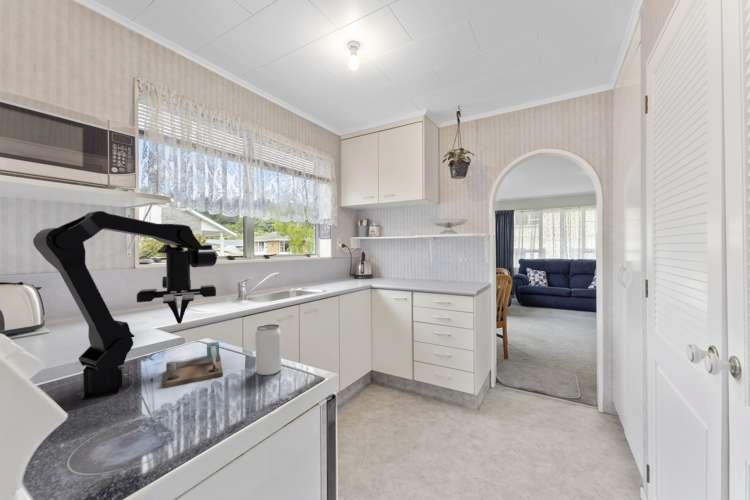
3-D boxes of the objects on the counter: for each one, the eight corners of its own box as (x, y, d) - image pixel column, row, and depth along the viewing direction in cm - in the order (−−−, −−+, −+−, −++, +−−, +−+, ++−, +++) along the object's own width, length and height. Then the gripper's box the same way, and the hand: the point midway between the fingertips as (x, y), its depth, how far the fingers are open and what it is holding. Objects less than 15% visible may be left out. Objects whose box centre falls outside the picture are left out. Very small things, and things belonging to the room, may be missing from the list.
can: (256, 368, 86) (256, 325, 86) (281, 365, 88) (280, 323, 88) (255, 377, 80) (254, 331, 80) (281, 374, 82) (280, 328, 82)
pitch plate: (162, 387, 75) (162, 369, 75) (167, 370, 86) (166, 354, 85) (222, 376, 81) (222, 358, 81) (220, 361, 92) (219, 346, 92)
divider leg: (207, 370, 82) (207, 353, 82) (207, 358, 91) (206, 343, 90) (220, 367, 83) (220, 351, 83) (218, 356, 92) (218, 341, 92)
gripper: (213, 265, 101) (214, 314, 101) (142, 268, 92) (143, 321, 92) (215, 267, 91) (216, 321, 91) (135, 271, 82) (137, 330, 82)
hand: (179, 323), depth 89 cm, fingers closed
